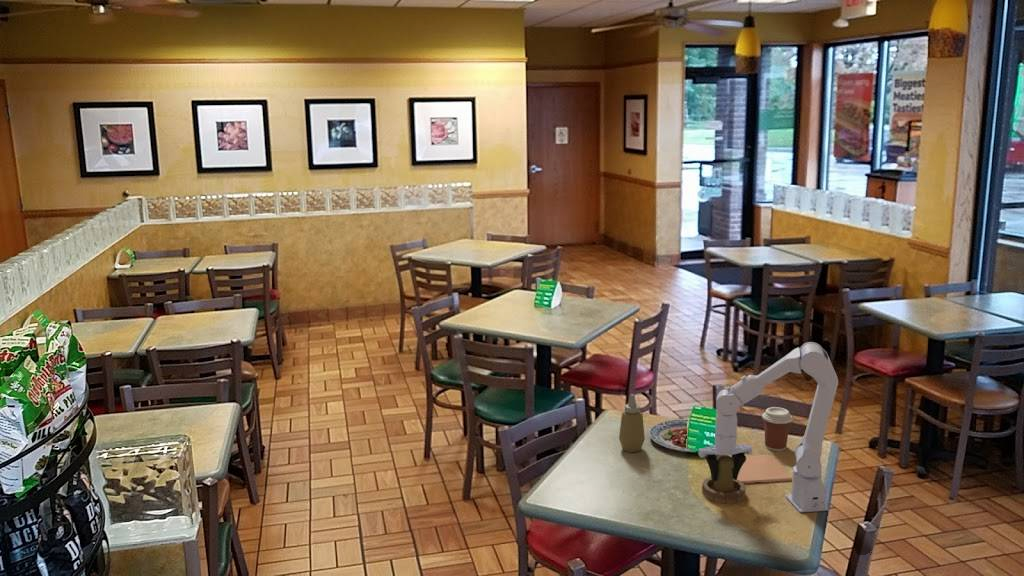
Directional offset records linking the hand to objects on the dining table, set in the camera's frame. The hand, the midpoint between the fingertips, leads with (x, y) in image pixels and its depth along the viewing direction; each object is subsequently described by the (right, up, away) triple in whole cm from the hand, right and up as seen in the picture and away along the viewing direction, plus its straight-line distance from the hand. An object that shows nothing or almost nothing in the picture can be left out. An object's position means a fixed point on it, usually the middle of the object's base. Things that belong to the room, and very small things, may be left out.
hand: (724, 478), depth 228 cm
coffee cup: (+24, +3, +31) cm, 39 cm away
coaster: (+13, -1, +15) cm, 20 cm away
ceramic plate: (-2, +3, +37) cm, 37 cm away
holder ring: (0, -4, +1) cm, 4 cm away
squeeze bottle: (-21, +2, +31) cm, 38 cm away
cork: (0, -5, +1) cm, 5 cm away
